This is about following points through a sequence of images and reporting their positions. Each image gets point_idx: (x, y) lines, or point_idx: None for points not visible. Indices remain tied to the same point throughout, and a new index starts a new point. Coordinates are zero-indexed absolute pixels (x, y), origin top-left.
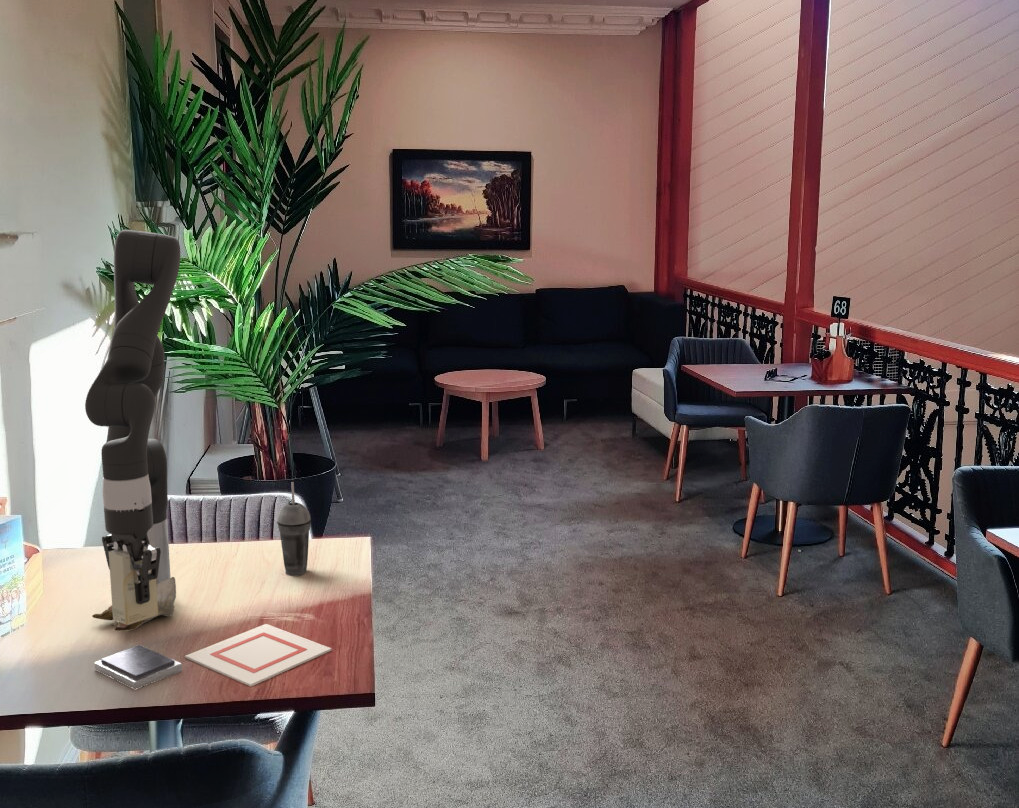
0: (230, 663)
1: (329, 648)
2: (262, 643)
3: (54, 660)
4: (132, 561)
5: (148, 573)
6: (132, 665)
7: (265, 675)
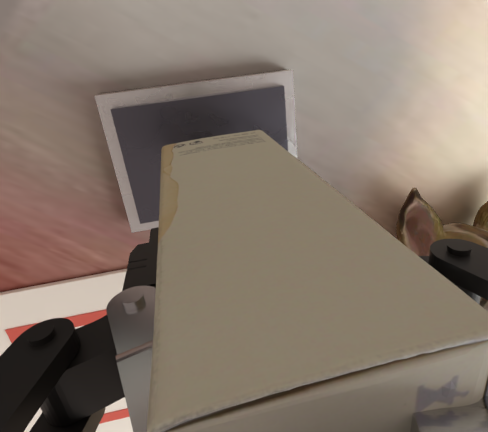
0: (89, 312)
1: None
2: None
3: (418, 16)
4: (135, 422)
5: (59, 402)
6: (182, 131)
7: None
